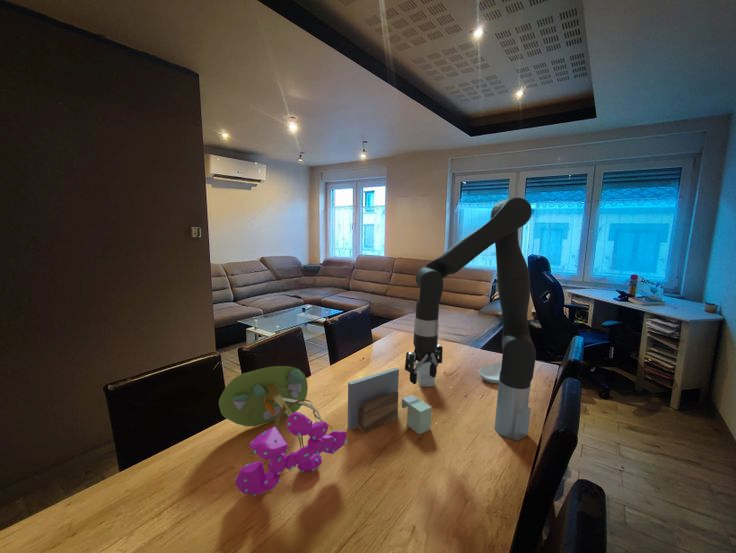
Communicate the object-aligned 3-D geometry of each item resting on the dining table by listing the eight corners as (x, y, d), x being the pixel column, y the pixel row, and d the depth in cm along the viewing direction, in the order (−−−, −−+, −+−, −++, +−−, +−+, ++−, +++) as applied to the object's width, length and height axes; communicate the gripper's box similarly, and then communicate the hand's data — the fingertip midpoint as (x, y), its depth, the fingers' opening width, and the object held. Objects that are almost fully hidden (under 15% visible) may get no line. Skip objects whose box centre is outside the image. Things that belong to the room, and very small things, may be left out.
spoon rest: (496, 390, 132) (497, 373, 131) (472, 378, 142) (473, 363, 141) (527, 376, 145) (529, 361, 144) (504, 366, 155) (505, 352, 154)
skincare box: (434, 387, 133) (436, 351, 130) (418, 386, 133) (420, 351, 130) (431, 377, 141) (432, 344, 139) (416, 377, 141) (417, 343, 139)
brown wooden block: (397, 418, 111) (398, 392, 109) (364, 433, 103) (364, 405, 101) (390, 413, 114) (391, 388, 112) (357, 427, 106) (358, 399, 104)
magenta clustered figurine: (302, 335, 104) (345, 402, 75) (320, 400, 116) (363, 481, 86) (204, 372, 93) (209, 469, 64) (234, 441, 104) (250, 549, 75)
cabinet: (430, 429, 105) (431, 407, 104) (419, 434, 103) (420, 411, 101) (411, 415, 113) (412, 394, 112) (400, 420, 110) (401, 398, 109)
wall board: (397, 410, 115) (398, 369, 113) (350, 430, 104) (350, 384, 101) (394, 408, 117) (395, 367, 114) (347, 427, 105) (348, 382, 103)
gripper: (417, 339, 93) (414, 390, 96) (450, 331, 101) (447, 378, 104) (400, 331, 99) (398, 380, 102) (433, 324, 107) (430, 369, 110)
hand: (423, 379), depth 103 cm, fingers open, 8 cm apart
